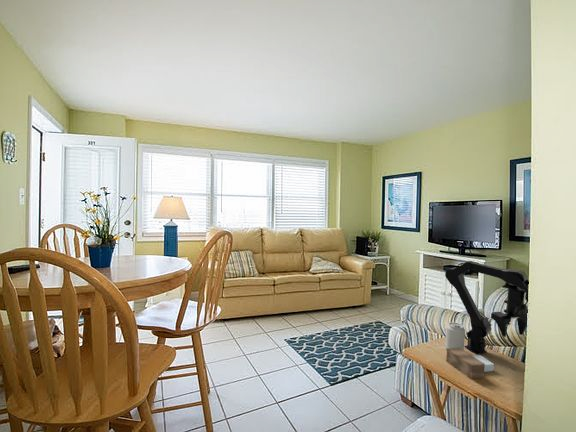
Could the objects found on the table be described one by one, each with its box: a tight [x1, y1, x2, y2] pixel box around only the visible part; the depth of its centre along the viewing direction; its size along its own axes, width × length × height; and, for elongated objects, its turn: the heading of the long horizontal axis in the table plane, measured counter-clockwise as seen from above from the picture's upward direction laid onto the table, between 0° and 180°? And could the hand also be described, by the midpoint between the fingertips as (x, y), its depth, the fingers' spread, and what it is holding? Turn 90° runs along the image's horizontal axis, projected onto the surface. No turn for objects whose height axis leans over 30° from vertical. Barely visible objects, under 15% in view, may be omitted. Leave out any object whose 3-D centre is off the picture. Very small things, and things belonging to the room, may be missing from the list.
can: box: [444, 321, 466, 351], centre depth 140 cm, size 8×8×12 cm
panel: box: [472, 354, 495, 373], centre depth 127 cm, size 7×12×3 cm, turn 102°
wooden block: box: [445, 347, 485, 380], centre depth 125 cm, size 13×6×6 cm, turn 14°
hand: (512, 335), depth 130 cm, fingers open, 9 cm apart
